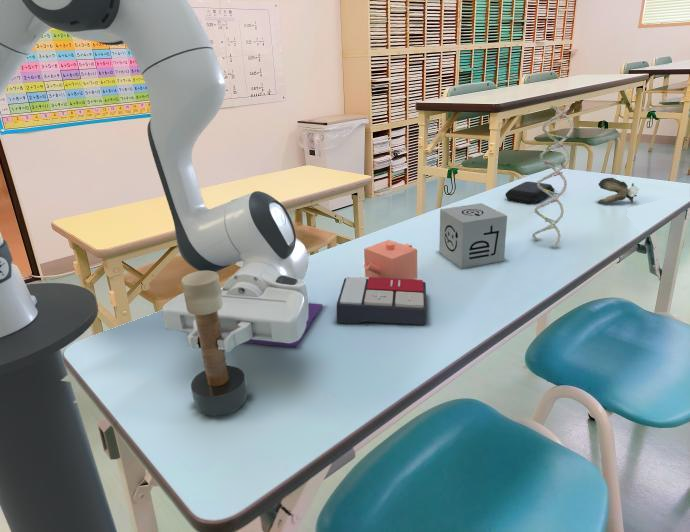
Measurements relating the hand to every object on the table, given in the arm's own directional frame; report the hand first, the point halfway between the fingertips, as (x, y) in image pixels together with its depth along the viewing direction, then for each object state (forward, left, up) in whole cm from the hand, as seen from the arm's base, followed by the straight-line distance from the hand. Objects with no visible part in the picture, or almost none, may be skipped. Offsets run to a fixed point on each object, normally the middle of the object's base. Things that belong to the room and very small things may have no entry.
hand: (207, 344), depth 66 cm
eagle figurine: (+67, +103, -10) cm, 123 cm away
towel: (-4, +23, -10) cm, 25 cm away
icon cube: (+30, +58, -10) cm, 66 cm away
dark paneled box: (+16, +31, -10) cm, 36 cm away
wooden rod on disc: (0, +1, -9) cm, 9 cm away
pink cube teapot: (+15, +42, -10) cm, 46 cm away
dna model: (+46, +68, -10) cm, 83 cm away
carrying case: (+45, +106, -10) cm, 116 cm away
